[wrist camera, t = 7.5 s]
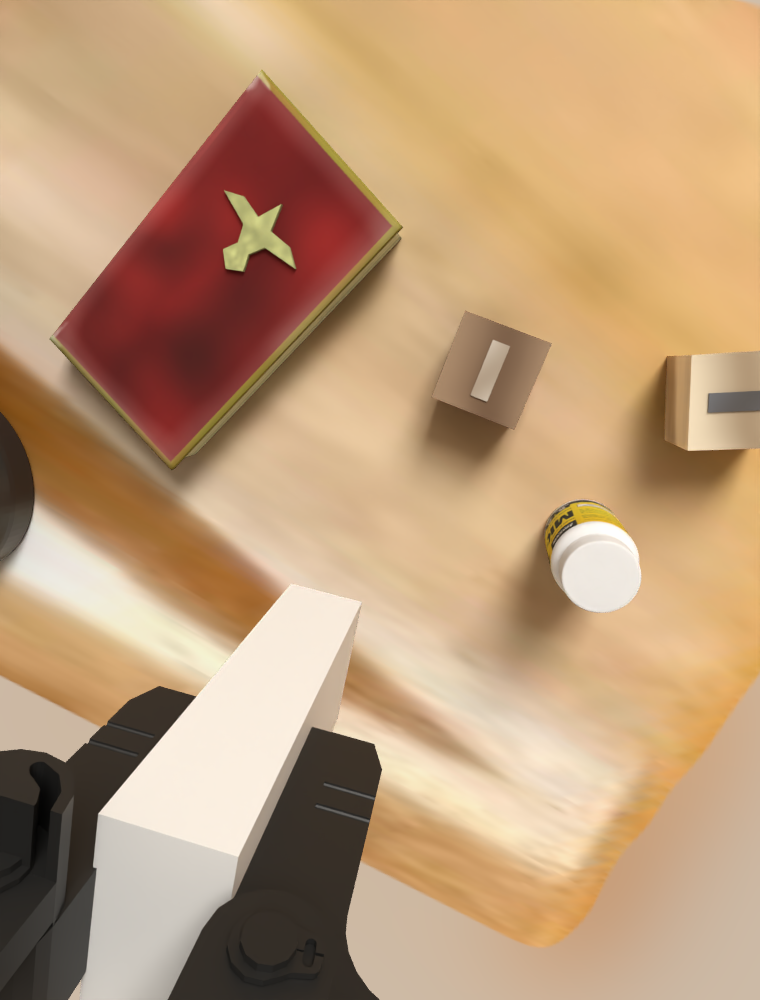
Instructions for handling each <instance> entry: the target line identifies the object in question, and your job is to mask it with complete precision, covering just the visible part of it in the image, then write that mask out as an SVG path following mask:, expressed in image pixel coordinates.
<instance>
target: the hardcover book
mask: <svg viewBox="0 0 760 1000" xmlns="http://www.w3.org/2000/svg"><path fill="white" fill-rule="evenodd" d="M402 228H403V227H402V226H401V225H400V224H399V222H398V221H397V220H396V219H395V218H394V217H393V216H392V215H391V214H390V212H389V211H388V210H387V209H386V208H385V207H384V206H383V205H382V203H381V202H380V201H379V200H378V199H377V198H376V197H375V196H374V194H373V193H372V192H371V191H370V190H369V189H368V188H367V187H366V186H365V184H364V183H363V182H362V181H361V180H360V179H359V178H358V177H357V175H356V174H355V173H354V172H353V171H352V170H351V169H350V168H349V167H348V165H347V164H346V163H345V162H344V161H343V160H342V159H341V158H340V156H339V155H338V154H337V153H336V152H335V151H334V150H333V149H332V148H331V146H330V145H329V144H328V143H327V142H326V141H325V140H324V139H323V137H322V136H321V135H320V134H319V133H318V132H317V131H316V130H315V129H314V127H313V126H312V125H311V124H310V123H309V122H308V121H307V120H306V118H305V117H304V116H303V115H302V114H301V113H300V112H299V111H298V110H297V108H296V107H295V106H294V105H293V104H292V103H291V102H290V101H289V99H288V98H287V97H286V96H285V95H284V94H283V93H282V92H281V90H280V89H279V88H278V87H277V86H276V85H275V84H274V83H273V82H272V80H271V79H270V78H269V77H268V76H267V75H266V74H265V73H264V71H263V70H261V71H260V72H259V74H258V75H257V76H256V78H255V79H254V80H253V81H252V83H251V84H250V85H249V86H248V88H247V89H246V90H245V92H244V93H243V94H242V95H241V97H240V98H239V99H238V100H237V102H236V103H235V104H234V105H233V107H232V108H231V109H230V111H229V112H228V113H227V114H226V116H225V117H224V118H223V119H222V121H221V122H220V123H219V125H218V126H217V127H216V128H215V130H214V131H213V132H212V133H211V135H210V136H209V137H208V138H207V140H206V141H205V142H204V144H203V145H202V146H201V147H200V149H199V150H198V151H197V152H196V154H195V155H194V156H193V158H192V159H191V160H190V161H189V163H188V164H187V165H186V166H185V168H184V169H183V170H182V172H181V173H180V174H179V175H178V177H177V178H176V179H175V180H174V182H173V183H172V184H171V185H170V187H169V188H168V189H167V191H166V192H165V193H164V194H163V196H162V197H161V198H160V199H159V201H158V202H157V203H156V205H155V206H154V207H153V208H152V210H151V211H150V212H149V213H148V215H147V216H146V217H145V218H144V220H143V221H142V222H141V224H140V225H139V226H138V227H137V229H136V230H135V231H134V232H133V234H132V235H131V236H130V238H129V239H128V240H127V241H126V243H125V244H124V245H123V246H122V248H121V249H120V250H119V251H118V253H117V254H116V255H115V257H114V258H113V259H112V260H111V262H110V263H109V264H108V265H107V267H106V268H105V269H104V271H103V272H102V273H101V274H100V276H99V277H98V278H97V279H96V281H95V282H94V283H93V284H92V286H91V287H90V288H89V290H88V291H87V292H86V293H85V295H84V296H83V297H82V298H81V300H80V301H79V302H78V304H77V305H76V306H75V307H74V309H73V310H72V311H71V312H70V314H69V315H68V316H67V317H66V319H65V320H64V321H63V323H62V324H61V325H60V326H59V328H58V329H57V330H56V331H55V333H54V334H53V335H52V337H51V338H50V340H51V341H52V342H53V343H54V344H55V345H56V346H57V348H58V349H59V350H60V351H61V352H62V353H63V354H64V355H65V356H66V357H67V358H68V359H69V360H70V362H71V363H72V364H73V365H74V366H75V367H76V368H77V369H78V370H79V371H80V372H81V373H82V374H83V376H84V377H85V378H86V379H87V380H88V381H89V382H90V383H91V384H92V385H93V386H94V387H95V389H96V390H97V391H98V392H99V393H100V394H101V395H102V396H103V397H104V398H105V399H106V400H107V401H108V403H109V404H110V405H111V406H112V407H113V408H114V409H115V410H116V411H117V412H118V413H119V414H120V415H121V417H122V418H123V419H124V420H125V421H126V422H127V423H128V424H129V425H130V426H131V427H132V428H133V429H134V431H135V432H136V433H137V434H138V435H139V436H140V437H141V438H142V439H143V440H144V441H145V442H146V443H147V445H148V446H149V447H150V448H151V449H152V450H153V451H154V452H155V453H156V454H157V455H158V456H159V458H160V459H161V460H162V461H163V462H164V463H165V464H166V465H167V466H168V467H169V468H170V469H171V470H173V469H175V468H176V467H177V465H178V464H179V463H180V462H181V461H182V460H183V459H184V458H185V457H188V456H191V455H195V454H196V453H197V452H198V451H199V450H200V449H201V448H202V447H203V446H204V445H205V444H206V443H207V442H208V441H209V440H210V439H211V438H212V437H213V436H214V434H215V433H216V432H217V431H218V430H219V429H220V428H221V427H222V426H223V425H224V424H225V423H226V422H227V421H228V420H229V419H230V418H231V417H232V416H233V415H234V413H235V412H236V411H237V410H238V409H239V408H240V407H241V406H242V405H243V404H244V403H245V402H246V401H247V400H248V399H249V398H250V397H251V396H252V395H253V394H254V393H255V391H256V390H257V389H258V388H259V387H260V386H261V385H262V384H263V383H264V382H265V381H266V380H267V379H268V378H269V377H270V376H271V375H272V374H273V373H274V372H275V370H276V369H277V368H278V367H279V366H280V365H281V364H282V363H283V362H284V361H285V360H286V359H287V358H288V357H289V356H290V355H291V354H292V353H293V352H294V351H295V349H296V348H297V347H298V346H299V345H300V344H301V343H302V342H303V341H304V340H305V339H306V338H307V337H308V336H309V335H310V334H311V333H312V332H313V331H314V330H315V328H316V327H317V326H318V325H319V324H320V323H321V322H322V321H323V320H324V319H325V318H326V317H327V316H328V315H329V314H330V313H331V312H332V311H333V310H334V309H335V308H336V306H337V305H338V304H339V303H340V302H341V301H342V300H343V299H344V298H345V297H346V296H347V295H348V294H349V293H350V292H351V291H352V290H353V289H354V288H355V287H356V285H357V284H358V283H359V282H360V281H361V280H362V279H363V278H364V277H365V276H366V275H367V274H368V273H369V272H370V271H371V270H372V269H373V268H374V267H375V266H376V264H377V263H378V262H379V261H380V260H381V259H382V258H383V257H384V256H385V255H386V254H387V253H388V252H389V251H390V250H391V249H392V248H393V247H394V246H395V245H396V244H397V242H398V241H399V240H400V239H401V237H400V236H399V234H398V232H399V231H400V230H401V229H402Z"/></svg>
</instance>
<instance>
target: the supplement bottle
mask: <svg viewBox="0 0 760 1000" xmlns="http://www.w3.org/2000/svg"><path fill="white" fill-rule="evenodd" d="M544 538H545V545H546V549H547V554H548V558H549V563H550V567H551V571H552V574H553V577H554V579H555V581H556V583H557V584H558V586H559V587H560V588H561V589H562V590H563V591H564V592H565V593H566V595H567V596H568V598H569V599H570V600H571V601H572V602H573V603H574V604H576V605H577V606H579V607H580V608H582V609H584V610H587V611H591V612H596V613H606V612H612V611H615V610H618V609H620V608H622V607H624V606H625V605H627V604H628V603H629V602H630V601H631V600H632V599H633V598H634V596H635V595H636V594H637V592H638V589H639V587H640V583H641V570H640V566H639V554H638V550H637V547H636V545H635V543H634V542H633V540H632V538H631V537H630V536H629V534H628V533H627V531H626V530H625V529H624V527H623V526H622V524H621V523H620V522H619V520H618V519H617V517H616V516H615V515H614V514H613V512H612V511H611V510H610V509H609V508H607V507H606V506H604V505H603V504H601V503H599V502H596V501H593V500H586V499H579V500H573V501H570V502H567V503H565V504H563V505H561V506H560V507H558V508H557V509H556V510H555V511H554V512H553V513H552V514H551V516H550V517H549V519H548V521H547V523H546V527H545V533H544Z"/></svg>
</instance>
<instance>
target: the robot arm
mask: <svg viewBox="0 0 760 1000" xmlns="http://www.w3.org/2000/svg"><path fill="white" fill-rule="evenodd" d="M33 497H34V491H33V479H32V473H31V469H30V465H29V461H28V458H27V455H26V453H25V450H24V448H23V445H22V443H21V441H20V439H19V437H18V436H17V434H16V432H15V431H14V429H13V427H12V426H11V425H10V423H9V422H8V420H7V419H6V418H5V417H4V416H3V414H2V413H1V412H0V561H1V560H3V559H4V558H5V557H7V556H8V555H9V554H10V553H11V552H12V551H13V550H14V549H15V548H16V547H17V545H18V544H19V543H20V541H21V540H22V538H23V536H24V534H25V532H26V530H27V528H28V525H29V522H30V519H31V514H32V509H33ZM361 604H362V602H360V601H357V600H353V599H349V598H345V597H341V596H337V595H333V594H329V593H325V592H321V591H318V590H314V589H310V588H306V587H302V586H298V585H294V584H290V586H289V587H288V588H287V589H286V590H285V592H284V593H283V594H282V595H281V596H280V598H279V599H278V600H277V601H276V602H275V604H274V605H273V606H272V607H271V608H270V609H269V611H268V612H267V613H266V614H265V615H264V617H263V618H262V619H261V620H260V621H259V623H258V624H257V625H256V626H255V627H254V629H253V630H252V631H251V632H250V633H249V635H248V636H247V637H246V638H245V639H244V640H243V642H242V643H241V644H240V645H239V646H238V648H237V649H236V650H235V651H234V652H233V654H232V655H231V656H230V657H229V658H228V660H227V661H226V662H225V663H224V664H223V666H222V667H221V668H220V669H219V670H218V672H217V673H216V674H215V675H214V676H213V677H212V679H211V680H210V681H209V682H208V683H207V685H206V686H205V687H204V688H203V689H202V691H201V692H200V693H199V694H198V695H197V697H196V696H193V695H189V694H185V693H182V692H178V691H175V690H171V689H168V688H164V687H161V686H159V687H157V688H154V689H152V690H150V691H148V692H146V693H144V694H142V695H139V696H137V697H135V698H133V699H131V700H129V701H128V702H127V703H126V704H125V705H124V706H123V707H122V708H121V709H120V710H119V711H118V712H117V713H116V714H115V715H114V716H113V717H112V718H111V719H110V720H109V721H108V723H107V725H106V726H105V725H103V726H102V727H101V728H100V729H99V730H98V731H97V732H96V733H95V734H94V735H93V736H92V737H91V738H90V741H89V743H88V744H86V743H85V744H84V745H83V746H82V747H81V748H80V749H79V750H78V751H77V752H76V753H75V754H74V755H73V756H72V757H71V758H70V759H69V760H68V761H67V762H66V763H65V762H63V761H61V760H59V759H57V758H55V757H53V756H51V755H49V754H47V753H44V752H37V751H30V750H23V749H18V750H9V751H0V1000H68V999H69V997H70V996H71V994H72V993H73V991H74V990H75V988H76V986H77V985H78V983H79V982H80V980H81V979H82V980H81V990H80V1000H379V999H378V998H377V997H376V996H375V995H374V994H373V993H372V992H371V991H370V990H369V989H368V988H367V986H366V985H365V983H364V982H363V980H362V979H361V978H360V976H359V975H358V973H357V972H356V969H355V967H354V965H353V962H352V960H351V957H350V955H349V952H348V945H347V940H346V923H347V915H348V910H349V906H350V902H351V898H352V894H353V889H354V885H355V881H356V877H357V873H358V868H359V864H360V860H361V856H362V852H363V847H364V843H365V839H366V835H367V831H368V826H369V822H370V818H371V814H372V810H373V805H374V801H375V797H376V793H377V789H378V784H379V780H380V776H381V772H382V768H381V765H380V762H379V759H378V755H377V752H376V749H375V746H374V744H372V743H368V742H365V741H361V740H358V739H354V738H351V737H347V736H344V735H340V734H336V733H333V732H332V731H333V728H334V726H335V723H336V720H337V718H338V713H339V708H340V704H341V699H342V694H343V689H344V685H345V680H346V675H347V670H348V666H349V661H350V656H351V651H352V647H353V642H354V637H355V632H356V628H357V623H358V618H359V613H360V608H361Z"/></svg>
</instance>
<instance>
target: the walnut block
mask: <svg viewBox="0 0 760 1000" xmlns="http://www.w3.org/2000/svg"><path fill="white" fill-rule="evenodd" d="M551 344H552V343H549V342H546V341H544V340H541V339H538V338H536V337H533V336H530V335H528V334H525V333H523V332H520V331H517V330H515V329H512V328H509V327H507V326H504V325H501V324H499V323H496V322H494V321H491V320H488V319H486V318H483V317H480V316H478V315H475V314H472V313H470V312H467V311H465V313H464V315H463V318H462V320H461V323H460V326H459V328H458V331H457V333H456V336H455V338H454V341H453V343H452V346H451V349H450V351H449V354H448V356H447V359H446V361H445V364H444V366H443V369H442V371H441V374H440V377H439V379H438V382H437V384H436V387H435V389H434V392H433V394H432V398H435V399H437V400H440V401H442V402H445V403H447V404H450V405H453V406H455V407H458V408H460V409H463V410H465V411H468V412H470V413H473V414H475V415H478V416H480V417H483V418H485V419H488V420H490V421H493V422H495V423H498V424H500V425H503V426H506V427H508V428H511V429H513V430H514V429H515V427H516V425H517V422H518V420H519V418H520V415H521V413H522V411H523V409H524V406H525V404H526V402H527V399H528V397H529V395H530V392H531V390H532V388H533V386H534V383H535V381H536V379H537V376H538V374H539V372H540V370H541V367H542V365H543V363H544V360H545V358H546V356H547V353H548V351H549V349H550V347H551Z"/></svg>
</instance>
